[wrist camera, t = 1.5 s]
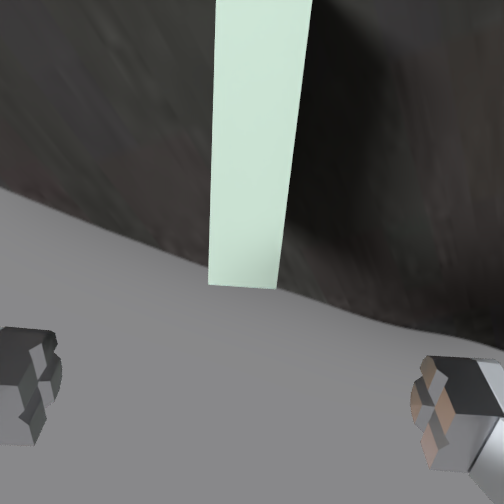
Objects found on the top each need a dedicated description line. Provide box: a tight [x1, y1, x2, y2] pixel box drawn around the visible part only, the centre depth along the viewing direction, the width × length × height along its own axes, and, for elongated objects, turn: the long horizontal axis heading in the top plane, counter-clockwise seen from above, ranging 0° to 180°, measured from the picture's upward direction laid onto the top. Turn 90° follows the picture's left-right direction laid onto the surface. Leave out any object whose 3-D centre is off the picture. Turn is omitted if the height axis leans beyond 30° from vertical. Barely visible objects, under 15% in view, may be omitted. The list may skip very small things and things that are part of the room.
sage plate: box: [208, 0, 312, 289], centre depth 26 cm, size 4×14×13 cm, turn 176°
